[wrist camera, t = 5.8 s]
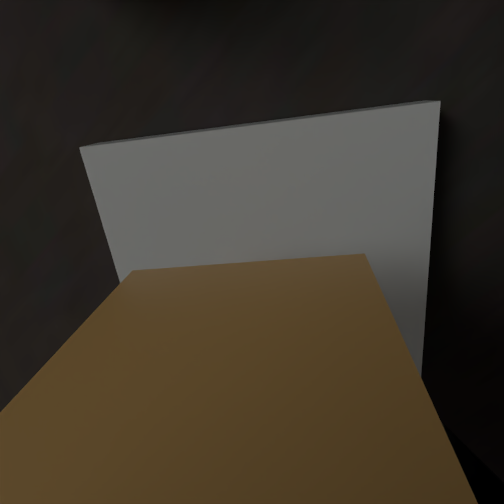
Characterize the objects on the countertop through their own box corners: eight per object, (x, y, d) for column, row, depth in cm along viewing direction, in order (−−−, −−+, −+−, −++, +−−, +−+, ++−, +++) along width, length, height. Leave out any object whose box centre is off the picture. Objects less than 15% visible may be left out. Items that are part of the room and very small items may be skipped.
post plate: (409, 376, 14) (478, 541, 9) (166, 381, 15) (102, 525, 10) (424, 100, 10) (561, 105, 5) (99, 142, 12) (-58, 180, 6)
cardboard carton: (366, 432, 9) (474, 936, 4) (179, 432, 10) (35, 850, 4) (365, 253, 7) (587, 745, 2) (132, 269, 8) (-223, 654, 2)
